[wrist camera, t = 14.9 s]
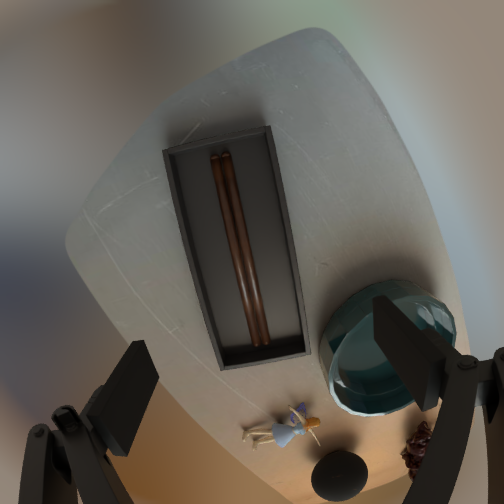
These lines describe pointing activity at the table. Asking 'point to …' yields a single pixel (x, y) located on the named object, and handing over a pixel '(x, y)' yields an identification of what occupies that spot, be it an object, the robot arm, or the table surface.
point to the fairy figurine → (285, 430)
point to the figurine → (416, 449)
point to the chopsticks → (244, 246)
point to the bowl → (375, 348)
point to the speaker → (339, 476)
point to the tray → (218, 252)
